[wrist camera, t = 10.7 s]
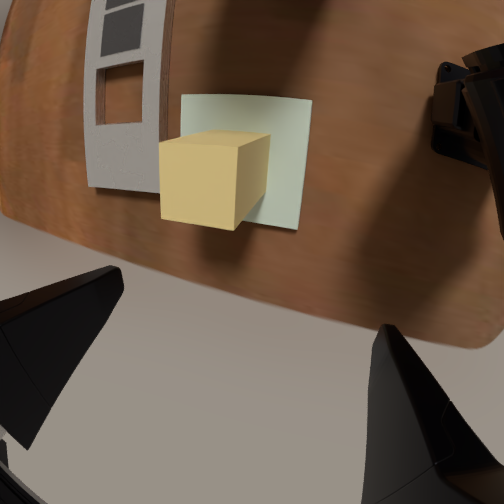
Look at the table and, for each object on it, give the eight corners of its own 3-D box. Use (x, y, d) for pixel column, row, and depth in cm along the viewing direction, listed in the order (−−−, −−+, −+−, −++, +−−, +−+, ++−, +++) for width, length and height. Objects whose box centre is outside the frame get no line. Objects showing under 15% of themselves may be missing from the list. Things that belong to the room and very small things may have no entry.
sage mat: (312, 100, 17) (311, 100, 17) (298, 226, 21) (297, 229, 21) (185, 94, 19) (181, 94, 18) (184, 208, 23) (181, 211, 23)
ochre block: (270, 133, 18) (237, 147, 12) (266, 191, 20) (233, 230, 14) (213, 129, 19) (158, 142, 13) (211, 184, 21) (161, 218, 15)
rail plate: (180, -42, 13) (173, -47, 12) (167, 189, 23) (159, 193, 22) (104, -18, 15) (94, -20, 14) (96, 182, 24) (87, 186, 23)
